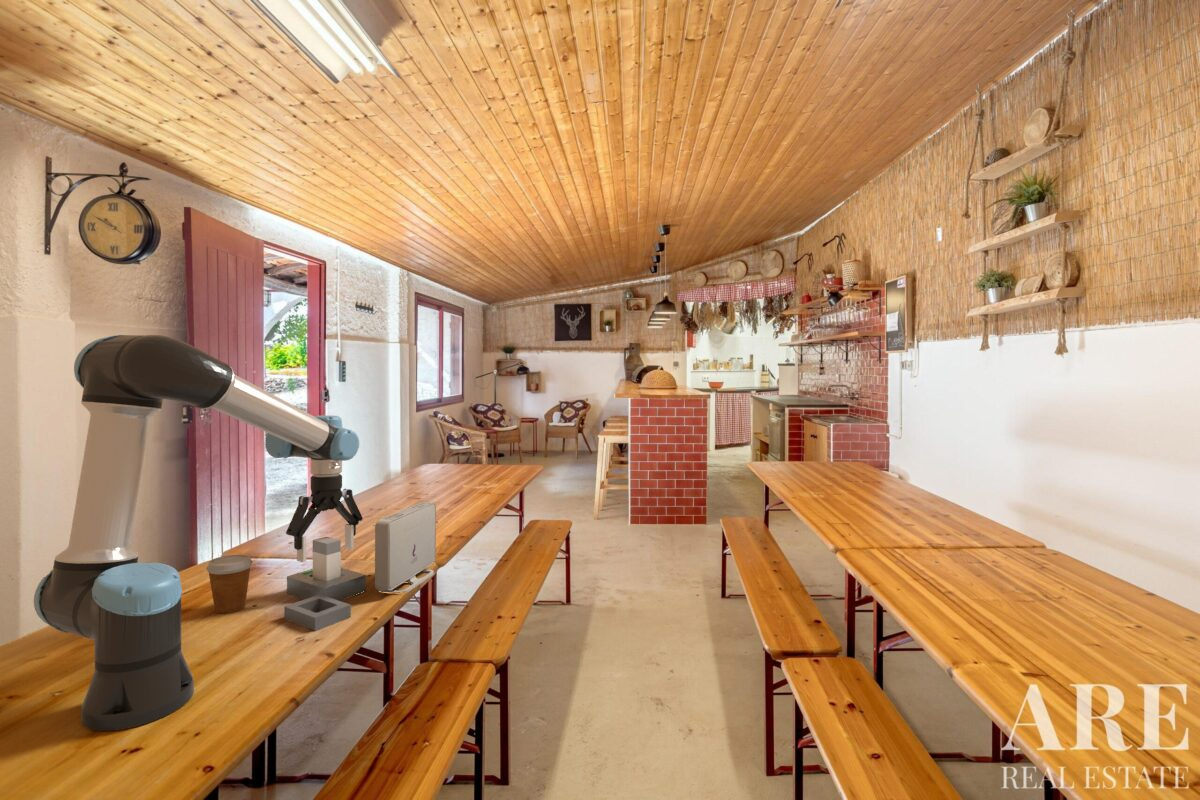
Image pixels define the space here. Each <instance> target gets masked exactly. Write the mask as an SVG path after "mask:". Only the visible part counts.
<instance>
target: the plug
mask: <svg viewBox="0 0 1200 800" xmlns="http://www.w3.org/2000/svg"><path fill="white" fill-rule="evenodd" d="M341 542H342V541H341V539H337V538H333V537H329V536H324V537H320V538H316V539H313V540H312V569H313V578H316V579H320V580H323V581H329V580H332V579H335V578H338V577H341V568H342V566H341V565H342V563H341V560H342V559H341V555H342V553H341V552H342V551H341V548H342V547H341V546H342V545H341Z"/></svg>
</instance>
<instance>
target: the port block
mask: <svg viewBox="0 0 1200 800" xmlns="http://www.w3.org/2000/svg"><path fill="white" fill-rule="evenodd" d="M363 591H367V575H366V573H360V572H357V571H355V570H354V571H353V570H350V569H348V568H343V567H341V577H338V578H335V579H332V580H329V581H323V580H320V579H316V578H313V568H311V569H307V570H303V571H301V572H297V573H294V574H290V575H287V576H286V594H289V595H291V596H294V597H295V598H296V597H297V598H299V599H302V600H305V599H308V598H311V597H314V596H316V595H319V594H320V595H323V596H326V597H329V598H332V599H335V600H338V601H340V600H341V601H343V599H344V600H347V599H348V597H349V598H352V597H354V596H353V595H355V596H357V595H356V594H358V593H360V594H362V593H361V592H363ZM363 593H364V592H363ZM358 595H359V594H358ZM351 596H352V597H351Z"/></svg>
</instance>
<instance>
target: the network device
mask: <svg viewBox="0 0 1200 800" xmlns="http://www.w3.org/2000/svg"><path fill="white" fill-rule="evenodd" d="M436 504H437V503H435V502H427V501H425V502H423V501H422V502H418V503H416V504H414V505H412V506H410V507H407V508H405V509H402V510H399V511H398V512H394V513H393V514H390V515H387V516H385V517H382V518H380V519H378V520H377V521H376V523H375V526H374V587H375V590H378V591H381V592H394V593H400V592H403V593H404V594H407V593H409V592H410V591H412V590H413V589H414V588H416V587H418V586H419V585H421V584H423V582H425V581H427V580H428V579H429V578H430V577H432V576H434V574H435V571H434V570H433V569H430V568H428V567H430V566H432V565H433V564H434V563H435V561H436V557H437V555H436V554H437V550H436V549H437V547H436V545H437V537H436V535H437V505H436ZM421 571H424V572H423V573H425V572H426V573H427V574H425V575H424V576H423V577H419V578H417V576H416V575H417V574H419V573H422V572H421ZM403 582H408V583H412V584H410V585H409V586H408V587H405V588H404V589H401V590H395V589H396V588H397V587H399V586H400V585H402V584H404V583H403ZM393 590H394V591H393ZM378 591H377V592H378Z"/></svg>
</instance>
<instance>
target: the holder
mask: <svg viewBox="0 0 1200 800" xmlns="http://www.w3.org/2000/svg"><path fill="white" fill-rule="evenodd" d="M283 608H284V611H283V612H284V613H283V615H284V616H283V617H284V620H286V621H289V622H291V623H294V624H296V625H298V626H301V627H303V628H307V629H308V630H312V631H314V632H317V631H318V630H319V631H320V630H322V629H324V628H327V627H329V626H332V625H335V624H337V623H339V622H341V621H345V620H347V619H349V617H350V618H351V617H352V616H351V615H352V605H351V604H350V603H346V602H343V601H342V600H341V601H338V600H335V599H332V598H329V597H326V596H323V595H320V594H319V595H316V596H314V597H311V598H308V599H302V600H300V601H296V602H293V603H290V604H287V605H284V606H283ZM346 618H347V619H346ZM344 619H345V620H344Z"/></svg>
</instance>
